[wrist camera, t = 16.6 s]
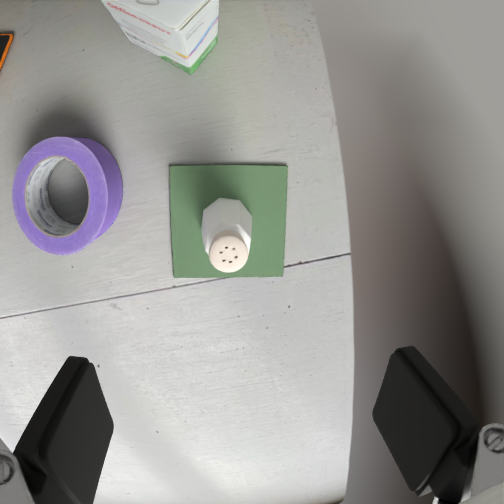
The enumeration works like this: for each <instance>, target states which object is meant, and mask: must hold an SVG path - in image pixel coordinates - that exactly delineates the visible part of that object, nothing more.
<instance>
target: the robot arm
mask: <svg viewBox="0 0 504 504" xmlns="http://www.w3.org/2000/svg"><path fill="white" fill-rule="evenodd" d="M373 419H374V422H375V424H376V426H377V427H378V429H379V431H380V433H381V435H382V437H383V439H384V441H385V443H386V444H387V446H388V448H389V450H390V452H391V454H392V456H393V458H394V460H395V462H396V464H397V465H398V467H399V469H400V471H401V473H402V475H403V477H404V479H405V481H406V483H407V485H408V487H409V489H410V490H411V491H415V493H416V495H417V496H418V497H420V496H422V495H425V494H427V493H429V492H431V491H433V493H434V495H435V497H434V501H433V504H504V425H501V424H489V425H486V426H485V427H483V428H482V430H481V431H480V430H479V429H478V426H479V425H480V422H479V421H478V420H477V418H476V417H475V416H474V415H473V414H472V412H471V411H470V410H469V409H468V408H467V406H466V405H465V404H464V403H463V402H462V400H461V399H460V398H459V397H458V396H457V394H456V393H455V392H454V391H453V390H452V389H451V388H450V386H449V385H448V384H447V383H446V382H445V381H444V379H443V378H442V377H441V376H440V375H439V374H438V372H437V371H436V370H435V369H434V368H433V367H432V366H431V365H430V364H429V363H428V361H427V360H426V359H425V358H424V357H423V356H422V354H421V353H420V352H419V351H418V350H417V349H416V348H415V347H414V346H408V347H403V348H398V349H396V350H395V352H394V353H393V354H392V355H391V356H390V359H389V363H388V366H387V370H386V373H385V376H384V379H383V383H382V386H381V389H380V392H379V395H378V397H377V401H376V403H375V406H374V409H373ZM113 429H114V424H113V420H112V417H111V415H110V412H109V409H108V407H107V404H106V401H105V398H104V395H103V392H102V389H101V386H100V383H99V380H98V377H97V374H96V371H95V367H94V365H93V363H89V360H88V359H87V358H84V357H75V356H69V357H68V358H67V360H66V361H65V363H64V364H63V366H62V368H61V369H60V371H59V372H58V374H57V375H56V377H55V379H54V380H53V382H52V384H51V385H50V387H49V389H48V390H47V392H46V394H45V395H44V397H43V399H42V400H41V402H40V404H39V405H38V407H37V409H36V411H35V412H34V414H33V416H32V418H31V420H30V421H29V423H28V425H27V427H26V429H25V430H24V432H23V434H22V436H21V438H20V440H19V442H18V444H17V445H16V447H15V450H14V452H13V454H12V453H10V452H8V451H6V450H1V449H0V504H93V501H94V497H95V493H96V490H97V486H98V482H99V478H100V475H101V471H102V467H103V464H104V460H105V457H106V453H107V450H108V447H109V443H110V440H111V437H112V433H113Z"/></svg>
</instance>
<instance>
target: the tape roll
mask: <svg viewBox="0 0 504 504" xmlns="http://www.w3.org/2000/svg"><path fill="white" fill-rule="evenodd" d="M64 159H67V160H69V161H71V162H72V163H74V164H75V165H76V166H77V167H78V168H79V170H80V171H81V172H82V174H83V176H84V178H85V180H86V183H87V188H88V194H89V201H88V208H87V212H86V215H85V217H84V219H83V221H82V222H81V224H71V223H68V222H65V221H64V220H62V219H61V218H60V217H58V216H57V214H56V213H55V212H54V210H53V209H52V207H51V204H50V202H49V197H48V182H49V178H50V175H51V173H52V171H53V169H54V168H55V166H56V165H57V164H58V163H59V162H61V161H62V160H64ZM122 197H123V183H122V177H121V173H120V170H119V167H118V164H117V162H116V160H115V159H114V157H113V156H112V154H111V153H110V152H109V151H108V150H107V149H106V148H105V147H104V146H103V145H101V144H100V143H98V142H96V141H94V140H91V139H88V138H82V137H63V136H57V137H51V138H47V139H45V140H43V141H41V142H39V143H37V144H36V145H34V146H33V147H32V148H31V149H30V150H29V151H28V152H27V153H26V154H25V156H24V157H23V159H22V160H21V162H20V164H19V166H18V168H17V171H16V173H15V177H14V182H13V189H12V200H13V208H14V212H15V216H16V219H17V221H18V223H19V226H20V228H21V229H22V231H23V232H24V234H25V235H26V237H27V238H28V239H29V240H30V241H31V242H32V243H33V244H34V245H35V246H37V247H38V248H40V249H41V250H43V251H45V252H48V253H51V254H56V255H68V254H73V253H76V252H78V251H80V250H82V249H84V248H85V247H86V246H88V245H89V244H90V243H92V242H93V241H94V240H95V239H97V238H98V237H99V236H101V235H102V234H103V233H104V232H106V231H107V230H108V229H109V228H110V226H111V225H112V224H113V222H114V221H115V219H116V217H117V215H118V213H119V210H120V207H121V203H122Z"/></svg>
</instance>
